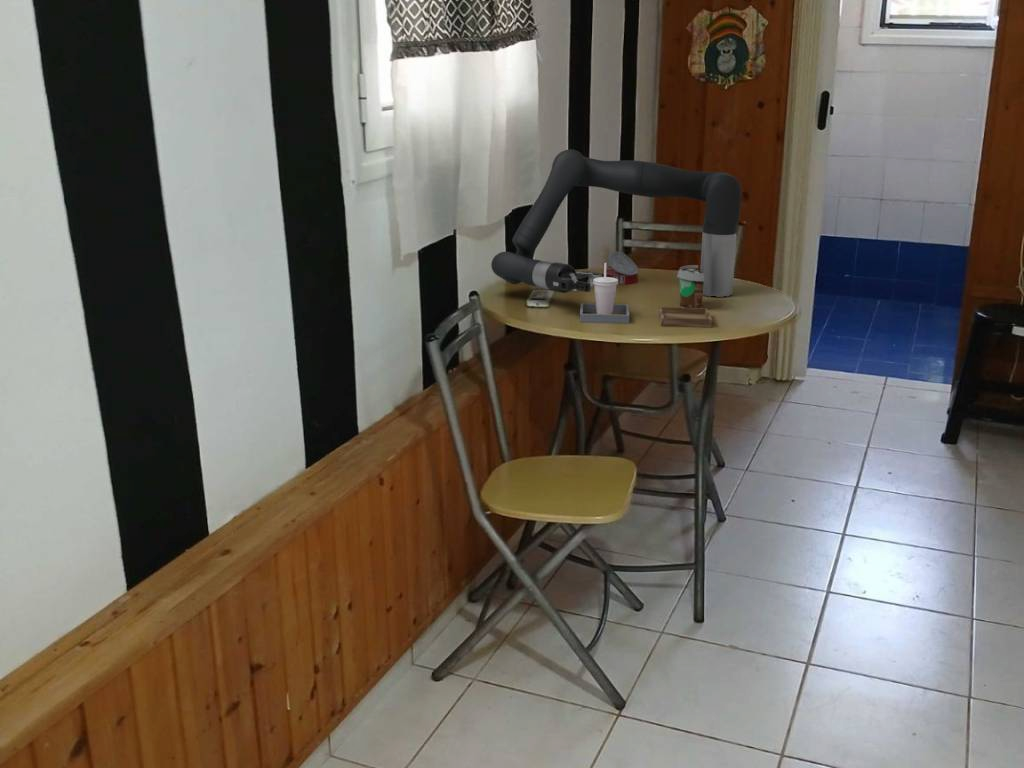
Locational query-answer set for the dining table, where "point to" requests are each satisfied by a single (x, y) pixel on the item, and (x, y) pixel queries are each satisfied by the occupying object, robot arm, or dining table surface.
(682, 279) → the food container
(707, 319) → the walnut tray
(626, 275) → the canned food
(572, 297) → the dining table surface
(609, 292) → the smoothie
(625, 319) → the grey square frame
